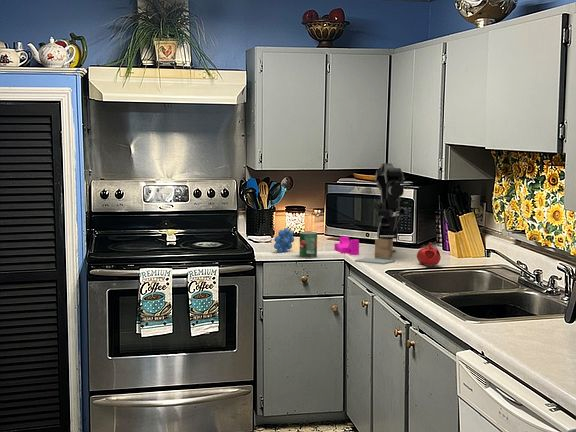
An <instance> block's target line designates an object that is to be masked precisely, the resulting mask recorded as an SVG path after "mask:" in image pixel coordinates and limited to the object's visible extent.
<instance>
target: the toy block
mask: <svg viewBox="0 0 576 432" xmlns="http://www.w3.org/2000/svg"><path fill="white" fill-rule="evenodd" d="M338 239H339V242H337V243H336V242H334V245H333V247H334V248H333V249H334V251H336V252H339V253H341V255H342V254H348V255H350V256H359V255H360V239H350V236H339V238H338Z"/></svg>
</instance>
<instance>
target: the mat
mask: <svg viewBox="0 0 576 432" xmlns="http://www.w3.org/2000/svg"><path fill="white" fill-rule="evenodd" d="M354 262H355V263H356V262H358V263H365V264H377V265H378V264H379V265H386V264H391V263H395V260H394V259H392V260H385V259H375V257H374V258H371V257H364V258H359V259H355V260H354Z"/></svg>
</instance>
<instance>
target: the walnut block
mask: <svg viewBox="0 0 576 432" xmlns="http://www.w3.org/2000/svg"><path fill="white" fill-rule="evenodd" d="M393 243H394V239H393V240H392V239H381V238H380V239H378V238H377V239H375V240H374V259H385V260H393V252H392V250H394V249H393V247H394V245H393Z"/></svg>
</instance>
